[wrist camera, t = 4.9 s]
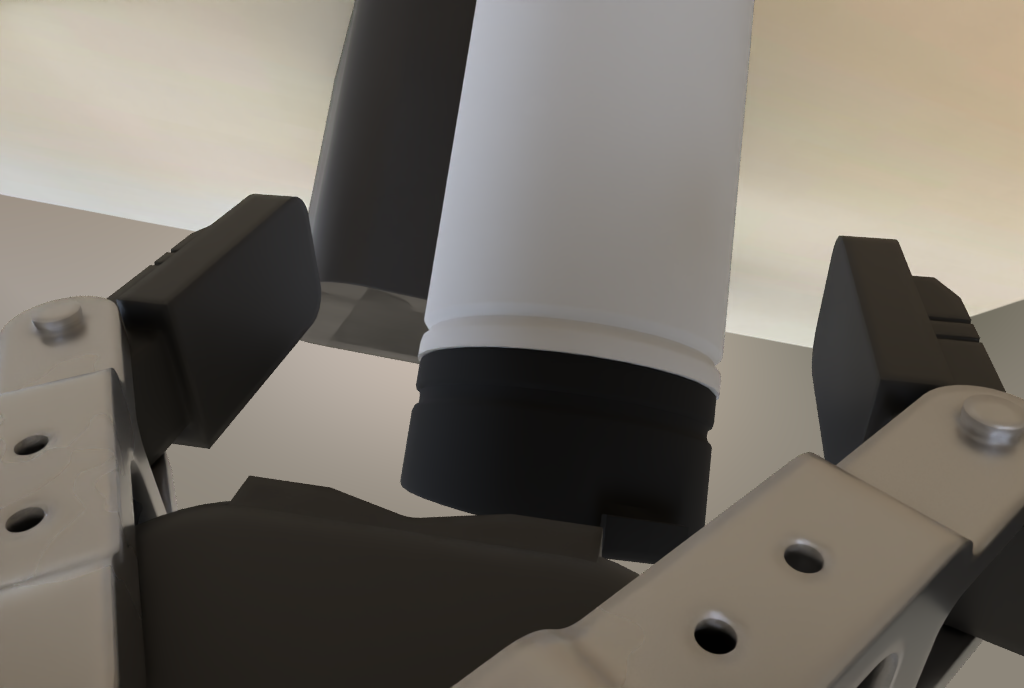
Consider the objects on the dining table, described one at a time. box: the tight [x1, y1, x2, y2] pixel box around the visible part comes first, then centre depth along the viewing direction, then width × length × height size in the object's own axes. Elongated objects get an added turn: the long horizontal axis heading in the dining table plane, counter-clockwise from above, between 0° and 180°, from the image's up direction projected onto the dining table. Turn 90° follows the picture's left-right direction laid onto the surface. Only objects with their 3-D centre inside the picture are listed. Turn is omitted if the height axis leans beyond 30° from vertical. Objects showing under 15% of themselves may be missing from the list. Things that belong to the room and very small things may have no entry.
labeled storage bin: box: [300, 0, 477, 364], centre depth 36 cm, size 18×14×13 cm
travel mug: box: [401, 0, 755, 564], centre depth 18 cm, size 6×7×20 cm
